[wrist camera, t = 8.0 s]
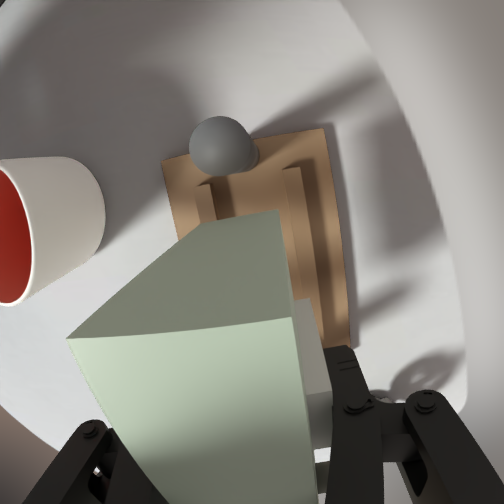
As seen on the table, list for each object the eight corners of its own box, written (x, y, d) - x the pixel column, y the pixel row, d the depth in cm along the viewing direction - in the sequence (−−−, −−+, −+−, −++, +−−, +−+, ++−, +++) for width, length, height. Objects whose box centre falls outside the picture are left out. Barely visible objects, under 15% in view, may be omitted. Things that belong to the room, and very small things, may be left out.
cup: (97, 140, 22) (15, 135, 13) (125, 252, 25) (56, 298, 15) (22, 177, 23) (-53, 190, 14) (48, 272, 26) (-19, 312, 16)
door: (200, 223, 14) (65, 338, 4) (299, 205, 13) (367, 302, 4) (248, 409, 16) (229, 563, 7) (324, 399, 16) (348, 555, 6)
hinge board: (164, 158, 22) (86, 156, 12) (320, 127, 21) (362, 94, 10) (219, 372, 27) (196, 464, 17) (348, 353, 26) (379, 444, 15)
